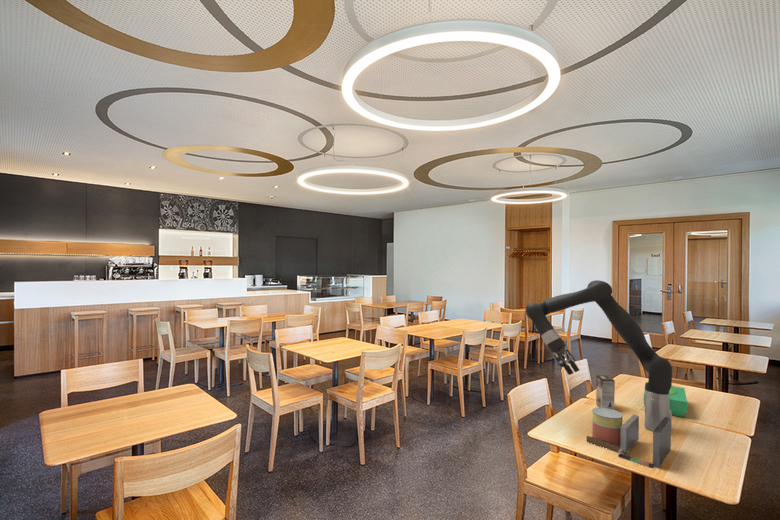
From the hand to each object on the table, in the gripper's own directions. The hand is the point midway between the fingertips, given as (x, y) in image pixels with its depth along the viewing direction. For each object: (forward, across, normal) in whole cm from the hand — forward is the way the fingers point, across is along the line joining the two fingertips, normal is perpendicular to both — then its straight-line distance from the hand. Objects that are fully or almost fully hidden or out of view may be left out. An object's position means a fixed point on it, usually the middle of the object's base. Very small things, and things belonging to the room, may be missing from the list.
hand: (574, 372), depth 174 cm
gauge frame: (+34, -2, -1) cm, 34 cm away
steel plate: (+33, -2, -3) cm, 34 cm away
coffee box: (+21, +41, +12) cm, 48 cm away
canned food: (+29, 0, +5) cm, 30 cm away
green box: (+34, +62, -7) cm, 71 cm away
